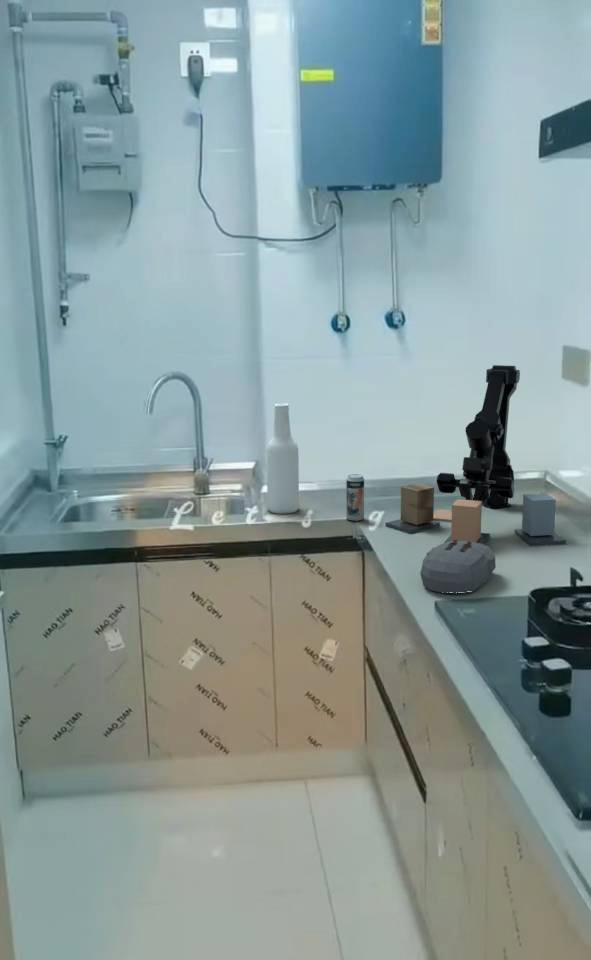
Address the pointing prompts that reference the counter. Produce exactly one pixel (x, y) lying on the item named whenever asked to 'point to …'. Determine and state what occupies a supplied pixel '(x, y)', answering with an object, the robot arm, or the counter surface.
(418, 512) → the brown wooden block
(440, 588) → the small grey backpack
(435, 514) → the card
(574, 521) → the counter surface
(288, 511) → the alcohol
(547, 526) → the blue-grey rectangular block
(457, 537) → the tan block
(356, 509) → the beer can
